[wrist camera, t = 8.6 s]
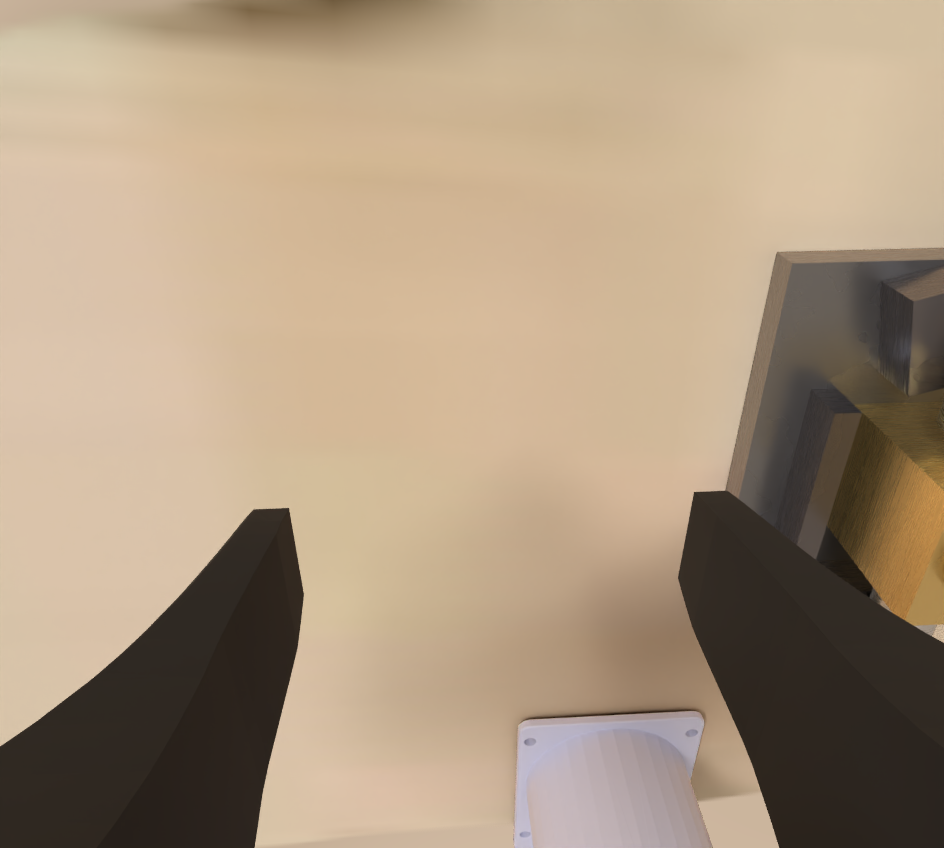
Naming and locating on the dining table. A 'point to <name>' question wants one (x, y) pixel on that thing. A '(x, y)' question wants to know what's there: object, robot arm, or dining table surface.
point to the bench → (833, 382)
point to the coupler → (896, 507)
